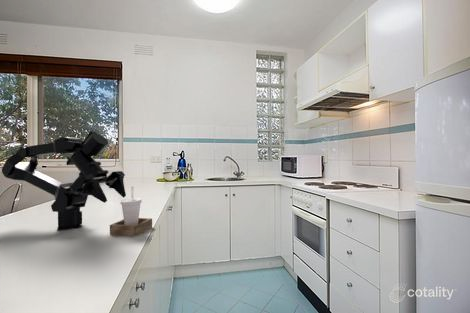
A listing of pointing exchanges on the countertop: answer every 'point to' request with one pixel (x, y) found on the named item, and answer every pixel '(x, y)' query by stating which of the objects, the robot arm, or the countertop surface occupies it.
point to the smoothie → (131, 210)
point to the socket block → (130, 227)
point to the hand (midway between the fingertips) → (115, 199)
